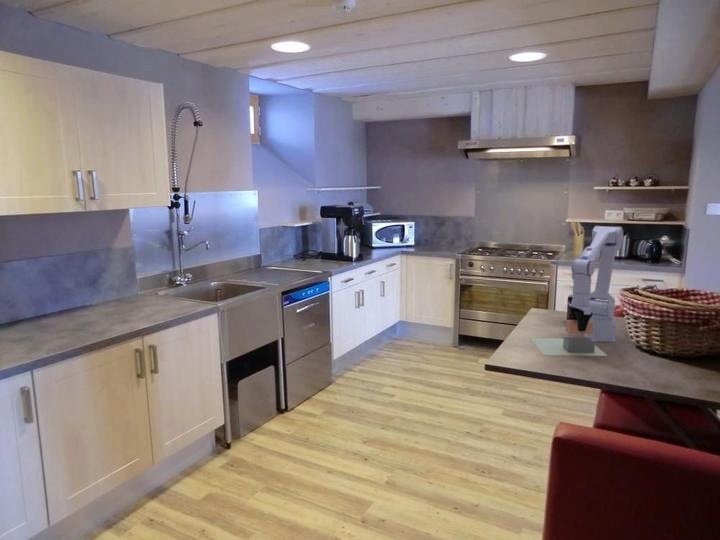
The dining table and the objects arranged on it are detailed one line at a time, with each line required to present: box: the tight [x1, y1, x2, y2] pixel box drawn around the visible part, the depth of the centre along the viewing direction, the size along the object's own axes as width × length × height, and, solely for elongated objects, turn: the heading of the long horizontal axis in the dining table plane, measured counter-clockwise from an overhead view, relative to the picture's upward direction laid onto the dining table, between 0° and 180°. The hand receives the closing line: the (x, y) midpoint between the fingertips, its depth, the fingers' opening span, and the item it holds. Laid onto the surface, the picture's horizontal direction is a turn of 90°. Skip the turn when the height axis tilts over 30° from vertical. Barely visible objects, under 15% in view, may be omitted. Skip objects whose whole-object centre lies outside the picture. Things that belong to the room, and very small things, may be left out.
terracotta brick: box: [565, 319, 593, 335], centre depth 183 cm, size 8×4×4 cm, turn 85°
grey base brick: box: [563, 336, 596, 353], centre depth 184 cm, size 9×6×4 cm, turn 85°
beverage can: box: [566, 294, 573, 320], centre depth 221 cm, size 7×7×12 cm
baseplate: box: [529, 337, 608, 357], centre depth 189 cm, size 22×20×1 cm
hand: (579, 329), depth 183 cm, fingers closed on terracotta brick, 4 cm apart
